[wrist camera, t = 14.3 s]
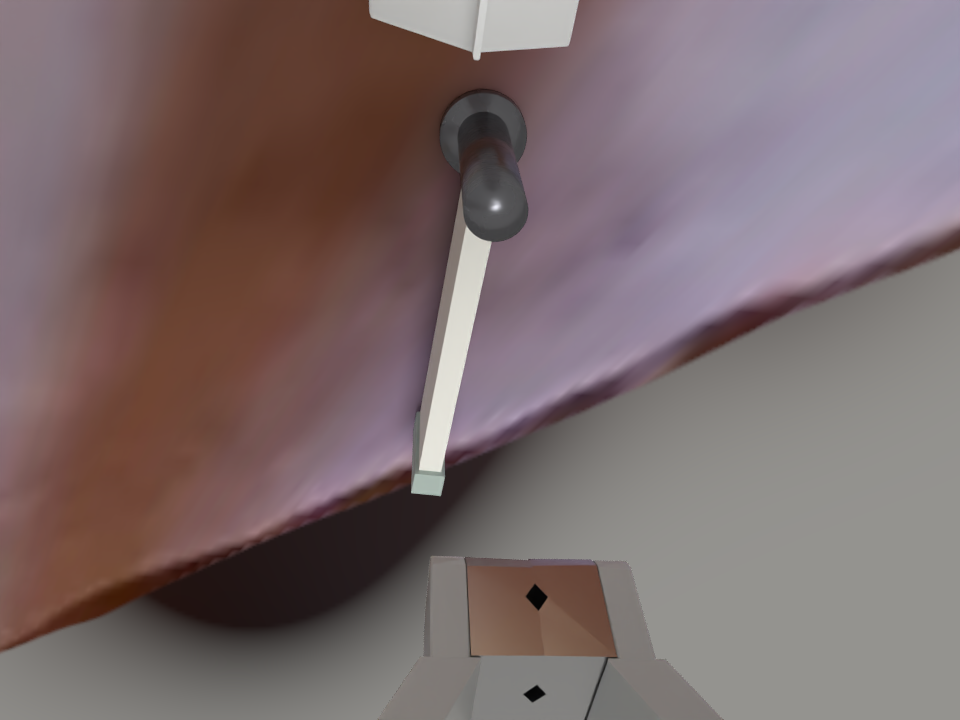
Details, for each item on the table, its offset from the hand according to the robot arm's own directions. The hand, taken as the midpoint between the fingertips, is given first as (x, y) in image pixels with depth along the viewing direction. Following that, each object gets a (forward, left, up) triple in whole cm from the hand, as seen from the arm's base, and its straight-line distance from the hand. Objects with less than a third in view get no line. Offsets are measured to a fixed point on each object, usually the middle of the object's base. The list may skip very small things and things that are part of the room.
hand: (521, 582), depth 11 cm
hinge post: (+3, -4, -35) cm, 35 cm away
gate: (+5, -16, -34) cm, 38 cm away
